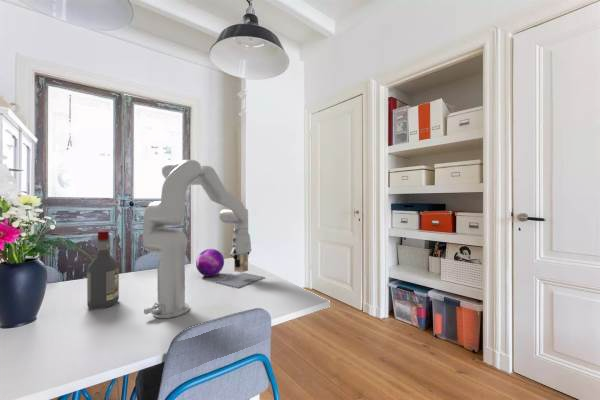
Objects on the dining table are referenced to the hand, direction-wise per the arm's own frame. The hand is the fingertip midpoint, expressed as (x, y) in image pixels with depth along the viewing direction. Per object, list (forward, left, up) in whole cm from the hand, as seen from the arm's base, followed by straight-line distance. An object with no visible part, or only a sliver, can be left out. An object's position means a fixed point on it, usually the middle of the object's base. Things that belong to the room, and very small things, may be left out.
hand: (241, 265), depth 143 cm
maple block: (0, 0, -3) cm, 3 cm away
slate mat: (0, 0, -8) cm, 8 cm away
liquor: (-54, +24, -8) cm, 60 cm away
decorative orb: (-3, +21, -8) cm, 23 cm away
